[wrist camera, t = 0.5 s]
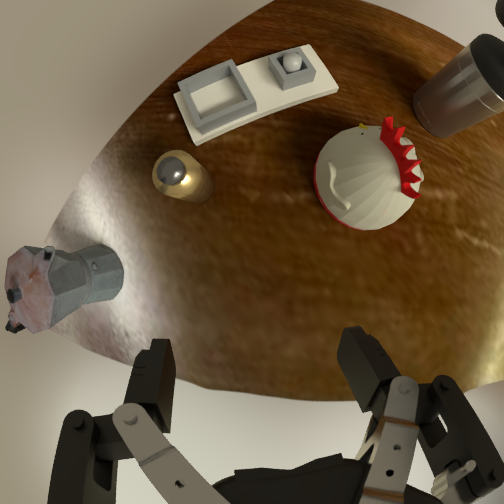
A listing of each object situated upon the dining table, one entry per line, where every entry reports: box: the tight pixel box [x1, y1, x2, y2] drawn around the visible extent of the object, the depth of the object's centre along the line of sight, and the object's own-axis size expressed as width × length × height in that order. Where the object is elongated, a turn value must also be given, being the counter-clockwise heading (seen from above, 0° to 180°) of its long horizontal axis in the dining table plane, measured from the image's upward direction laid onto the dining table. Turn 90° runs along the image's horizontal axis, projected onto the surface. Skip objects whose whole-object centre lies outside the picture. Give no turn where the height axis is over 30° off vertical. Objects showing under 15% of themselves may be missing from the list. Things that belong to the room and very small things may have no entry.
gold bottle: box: [152, 150, 215, 204], centre depth 30 cm, size 5×5×11 cm
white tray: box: [173, 45, 339, 146], centre depth 31 cm, size 22×9×6 cm, turn 114°
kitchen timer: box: [314, 116, 424, 230], centre depth 27 cm, size 14×14×15 cm
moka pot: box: [5, 245, 124, 334], centre depth 28 cm, size 10×15×20 cm, turn 138°
